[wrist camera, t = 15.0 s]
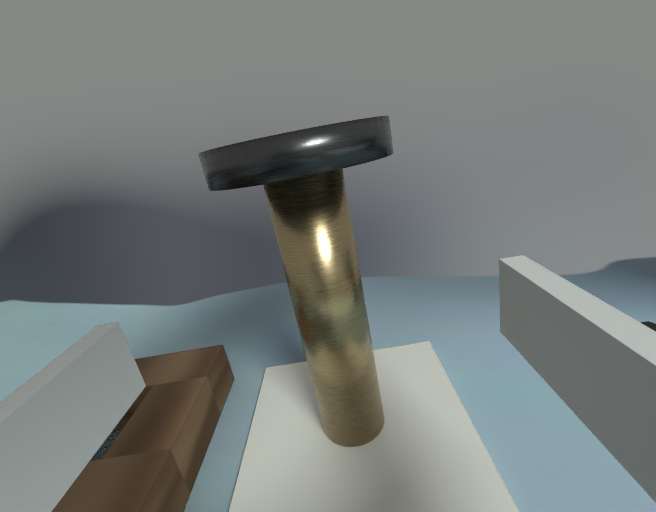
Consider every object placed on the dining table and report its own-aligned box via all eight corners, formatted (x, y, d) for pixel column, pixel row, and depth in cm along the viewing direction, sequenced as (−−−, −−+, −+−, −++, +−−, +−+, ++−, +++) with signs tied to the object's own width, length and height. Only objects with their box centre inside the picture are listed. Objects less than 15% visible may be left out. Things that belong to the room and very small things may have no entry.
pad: (429, 347, 28) (429, 341, 28) (523, 530, 15) (523, 521, 15) (267, 373, 29) (266, 367, 29) (219, 570, 16) (215, 561, 15)
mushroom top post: (406, 365, 26) (374, 122, 20) (447, 475, 17) (410, 107, 12) (291, 383, 26) (229, 152, 20) (276, 500, 18) (160, 158, 12)
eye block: (234, 378, 29) (222, 344, 28) (157, 578, 16) (130, 528, 15) (81, 403, 30) (64, 371, 28) (-116, 614, 16) (-162, 569, 15)
